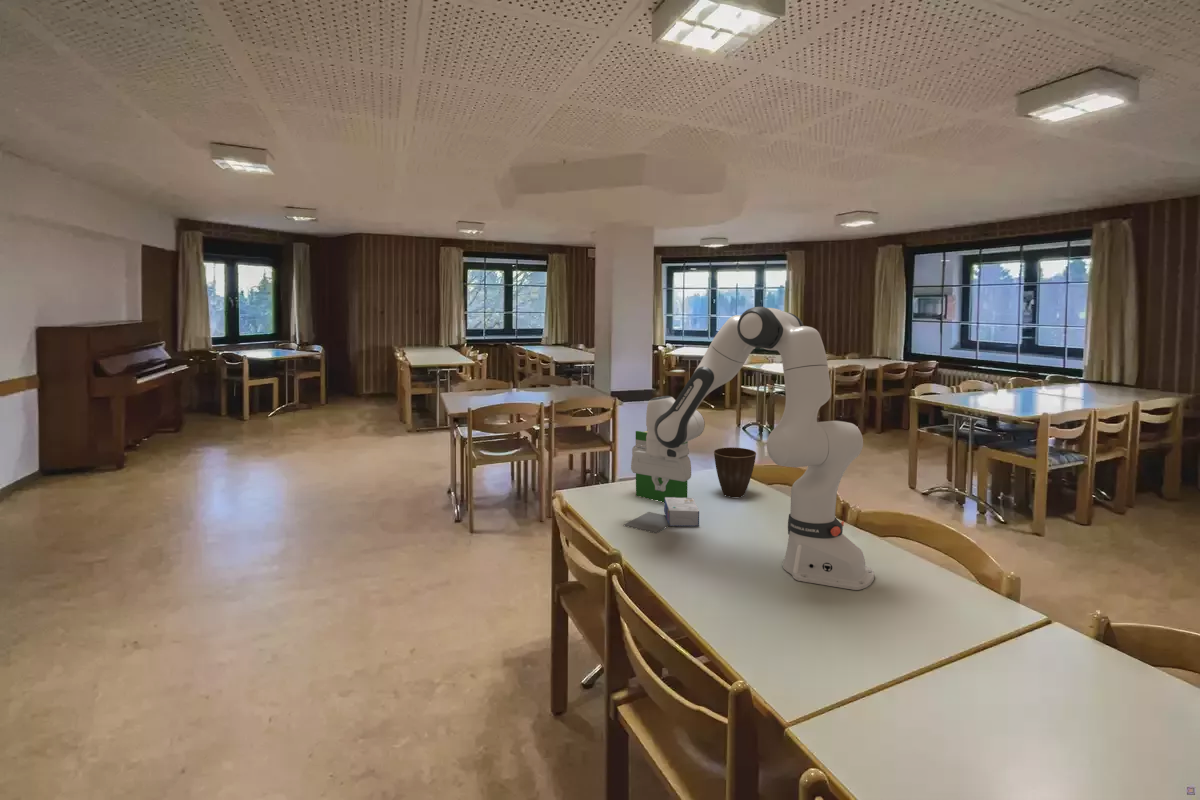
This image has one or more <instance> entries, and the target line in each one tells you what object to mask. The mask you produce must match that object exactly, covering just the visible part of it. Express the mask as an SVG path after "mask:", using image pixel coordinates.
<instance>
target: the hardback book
mask: <svg viewBox="0 0 1200 800" xmlns="http://www.w3.org/2000/svg"><path fill="white" fill-rule="evenodd" d="M646 436H647V430H645V431H641V430H635V445H637V444H639V445H646ZM688 443H689V441H688V442H685V443H683V444H681V445H683V446H685V447H687V448H689V447H688V445H689V444H688ZM688 455H689V454H688ZM688 455H687V456H688ZM688 457H689V456H688ZM658 481H659V484H662V483H663V481H662V478H660V477H659V478H658ZM636 495H637V496H636ZM635 496H636V497H639V496H641V497H640V498H643V497H645V498H644V499H647V498H649V499H648V500H651V499H653V500H652V501H655V500H658V501H662V502H664V501H665V497H672V498H673V497H675V498H688V480H687V481H685V482H683V481H677V480H671V479H669V481H668V483H667V484H666V490H665V491H664V492H663V491H658V490H655V485H654V483H653V481H652V476H649V475H643V474H637V473H635ZM658 501H657V502H658ZM662 502H661V503H662Z"/></svg>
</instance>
